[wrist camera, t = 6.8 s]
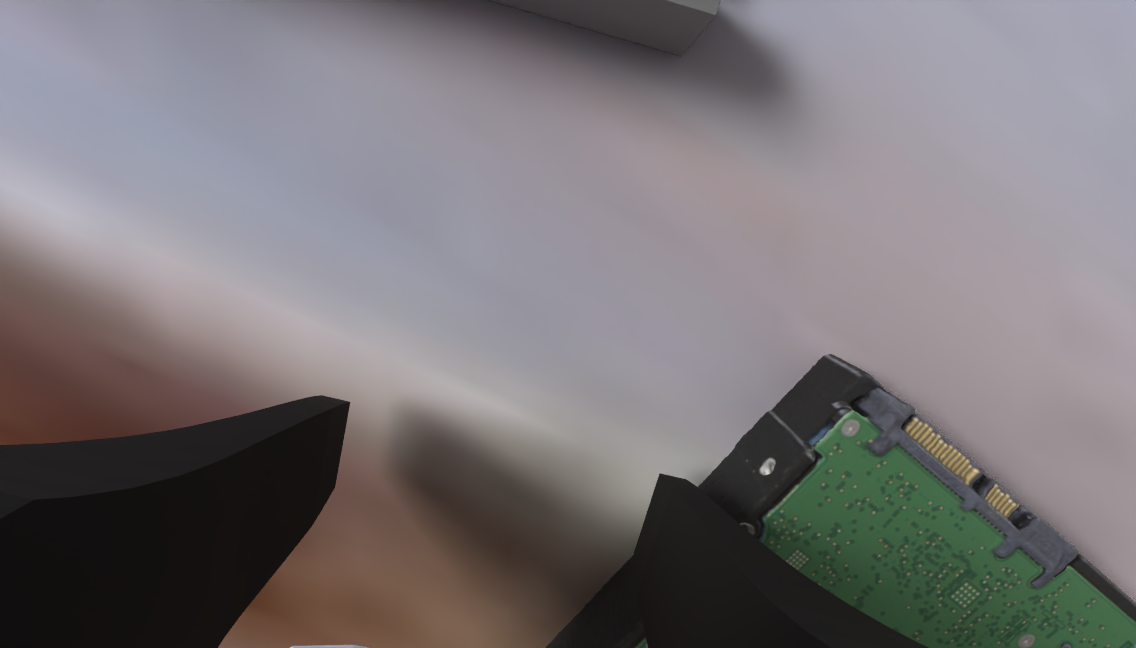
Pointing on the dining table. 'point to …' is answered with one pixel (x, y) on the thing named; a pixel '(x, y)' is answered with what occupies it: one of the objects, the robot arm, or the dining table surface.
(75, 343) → the dining table surface
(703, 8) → the grey flat panel
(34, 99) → the dining table surface
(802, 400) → the disk drive
